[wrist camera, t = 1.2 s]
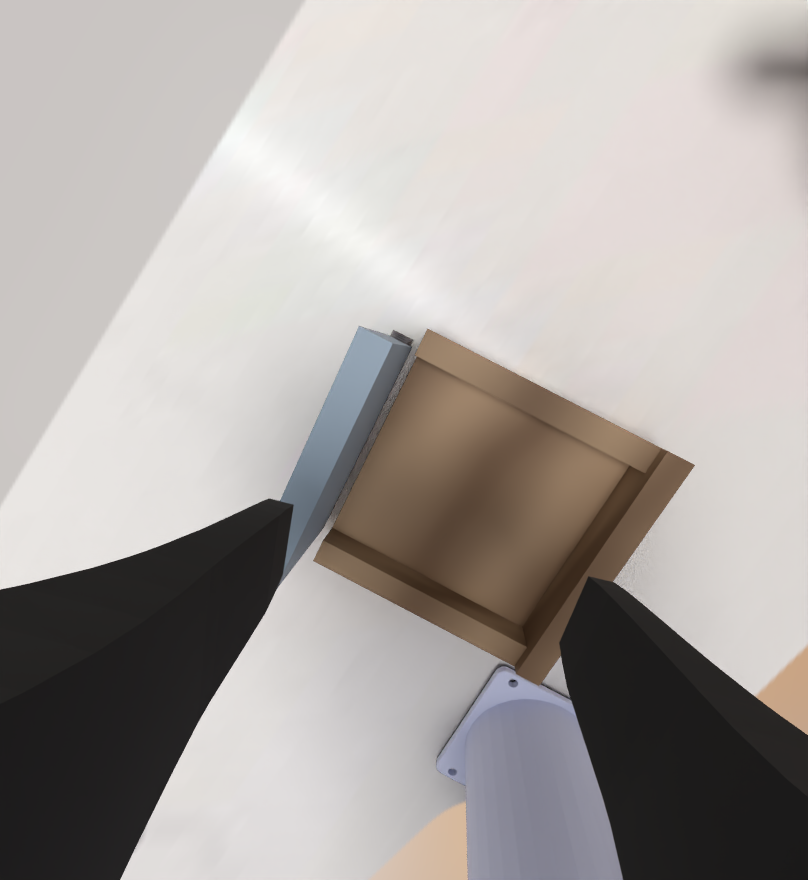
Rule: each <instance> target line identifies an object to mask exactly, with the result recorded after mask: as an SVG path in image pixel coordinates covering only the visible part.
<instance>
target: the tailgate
mask: <svg viewBox="0 0 808 880" xmlns="http://www.w3.org/2000/svg"><path fill="white" fill-rule="evenodd" d="M412 341H413V340H412V339H410V338H408V337H406V336H404V335H402V334H400V333H398V332H396V331H394V330H393V331H392V334H391V336H389V335H387V334H383V333H380V332H377V331H374V330H370V329H367V328H364V327H360V326H359V327H358V330H357V332H356V334H355V336H354V339H353V341H352V343H351V345H350V347H349V350H348V352H347V354H346V356H345V358H344V361H343V363H342V365H341V367H340V370H339V372H338V374H337V376H336V378H335V381H334V383H333V385H332V387H331V389H330V392H329V394H328V396H327V398H326V400H325V403H324V405H323V407H322V409H321V412H320V414H319V416H318V418H317V420H316V423H315V425H314V427H313V429H312V431H311V434H310V436H309V438H308V440H307V442H306V445H305V447H304V449H303V451H302V454H301V456H300V458H299V460H298V462H297V465H296V467H295V469H294V471H293V473H292V476H291V478H290V480H289V482H288V484H287V487H286V489H285V491H284V493H283V496H282V498H281V500H280V501H281V502H285V503H289V504H293V505H294V507H293V513H292V520H291V526H290V533H289V539H288V545H287V552H286V558H285V565H284V571H283V576H282V578H281V580H280V583H279V585H280V584H281V583H282V581H283V580H284V579H285V577H286V576H287V575H288V573H289V572H290V571H291V569H292V568H293V567H294V566H295V564H296V563H297V562H298V560H299V559H300V558H301V556H302V555H303V554H304V553H305V551H306V550H307V549H308V547H309V546H310V545H311V543H312V542H313V541H314V539H315V538H316V537H317V536H318V534H319V533H320V532H321V530H322V529H323V528H324V526H325V524H326V522H327V520H328V518H329V516H330V514H331V512H332V510H333V507H334V505H335V503H336V501H337V499H338V497H339V495H340V493H341V491H342V489H343V487H344V485H345V483H346V481H347V479H348V477H349V475H350V473H351V471H352V469H353V467H354V465H355V463H356V460H357V458H358V456H359V454H360V452H361V450H362V448H363V446H364V444H365V442H366V440H367V438H368V436H369V434H370V432H371V430H372V428H373V426H374V424H375V422H376V420H377V418H378V415H379V413H380V411H381V409H382V407H383V405H384V403H385V401H386V399H387V397H388V395H389V393H390V391H391V389H392V387H393V385H394V383H395V381H396V379H397V377H398V375H399V373H400V371H401V368H402V366H403V364H404V362H405V360H406V358H407V356H408V354H409V352H410V350H411V348H412V347H411V346H410V345H411V343H412ZM279 585H278V586H279ZM277 588H278V587H277Z"/></svg>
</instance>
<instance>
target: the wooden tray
mask: <svg viewBox="0 0 808 880" xmlns="http://www.w3.org/2000/svg"><path fill="white" fill-rule="evenodd" d="M415 356H417V358H416V360H415V362H414V364H413V366H412V368H411V370H410V372H409V374H408V376H407V378H406V380H405V382H404V384H403V386H402V388H401V390H400V392H399V394H398V396H397V398H396V400H395V402H394V404H393V406H392V408H391V410H390V412H389V414H388V416H387V418H386V420H385V422H384V424H383V426H382V428H381V430H380V432H379V435H378V437H377V439H376V441H375V443H374V445H373V447H372V449H371V451H370V453H369V455H368V457H367V459H366V461H365V463H364V465H363V467H362V469H361V471H360V473H359V475H358V477H357V479H356V481H355V483H354V485H353V487H352V489H351V491H350V493H349V495H348V497H347V499H346V501H345V503H344V505H343V507H342V509H341V511H340V513H339V515H338V517H337V519H336V521H335V523H334V525H333V527H332V529H331V530H330V532H329V533H328V535H327V536H326V537H325V539H324V540H323V542H322V544H321V546H320V548H319V550H318V552H317V554H316V556H315V558H314V560H313V561H315V562H316V563H318V564H320V565H322V566H324V567H326V568H328V569H330V570H332V571H334V572H336V573H337V574H339V575H341V576H343V577H345V578H347V579H349V580H351V581H353V582H355V583H356V584H358V585H360V586H362V587H364V588H366V589H368V590H370V591H372V592H374V593H376V594H377V595H379V596H381V597H383V598H385V599H387V600H389V601H391V602H393V603H395V604H397V605H398V606H400V607H402V608H404V609H406V610H408V611H410V612H412V613H414V614H416V615H417V616H419V617H421V618H423V619H425V620H427V621H429V622H431V623H433V624H435V625H437V626H438V627H440V628H442V629H444V630H446V631H448V632H450V633H452V634H454V635H456V636H457V637H459V638H461V639H463V640H465V641H467V642H469V643H471V644H473V645H475V646H477V647H478V648H480V649H482V650H484V651H486V652H488V653H490V654H492V655H494V656H496V657H498V658H499V659H501V660H503V661H505V662H507V663H509V664H511V665H513V666H514V667H515V672H516V674H517V675H519V676H520V677H522V678H524V679H526V680H528V681H530V682H532V683H534V684H536V685H538V686H540V684H541V683H542V681H543V680H544V679H545V677H546V676H547V674H548V673H549V671H550V670H551V669H552V667H553V666H554V664H555V663H556V661H557V660H558V659H559V657H560V656H561V651H560V645H559V642H560V640H561V637H562V635H563V633H564V631H565V628H566V626H567V624H568V621H569V619H570V617H571V615H572V612H573V610H574V608H575V605H576V603H577V601H578V599H579V596H580V594H581V592H582V590H583V587H584V585H585V583H586V580H587V578H588V576H590V577H594V578H598V579H602V580H607V581H611V582H613V581H614V579H615V578H616V576H617V575H618V574H619V572H620V571H621V569H622V568H623V567H624V565H625V564H626V562H627V561H628V559H629V558H630V557H631V555H632V554H633V552H634V551H635V549H636V548H637V547H638V545H639V544H640V542H641V541H642V540H643V538H644V537H645V535H646V534H647V532H648V531H649V530H650V528H651V527H652V525H653V524H654V523H655V521H656V520H657V518H658V517H659V515H660V514H661V513H662V511H663V510H664V508H665V507H666V506H667V504H668V503H669V501H670V500H671V498H672V497H673V496H674V494H675V493H676V491H677V490H678V489H679V487H680V486H681V484H682V483H683V481H684V480H685V479H686V477H687V476H688V474H689V473H690V472H691V470H692V469H693V467H694V466H695V465H694V464H692V463H690V462H688V461H686V460H684V459H682V458H680V457H678V456H676V455H674V454H672V453H670V452H668V451H666V450H664V449H662V448H660V447H658V446H656V445H654V444H652V443H650V442H648V441H646V440H644V439H642V438H640V437H638V436H636V435H634V434H632V433H630V432H629V431H627V430H625V429H623V428H621V427H619V426H617V425H615V424H613V423H611V422H609V421H607V420H605V419H603V418H601V417H599V416H597V415H595V414H593V413H591V412H589V411H588V410H586V409H584V408H582V407H580V406H578V405H576V404H574V403H572V402H570V401H568V400H566V399H564V398H562V397H560V396H558V395H556V394H554V393H552V392H550V391H548V390H547V389H545V388H543V387H541V386H539V385H537V384H535V383H533V382H531V381H529V380H527V379H525V378H523V377H521V376H519V375H517V374H515V373H513V372H511V371H509V370H507V369H505V368H504V367H502V366H500V365H498V364H496V363H494V362H492V361H490V360H488V359H486V358H484V357H482V356H480V355H478V354H476V353H474V352H472V351H470V350H468V349H466V348H464V347H463V346H461V345H459V344H457V343H455V342H453V341H451V340H449V339H447V338H445V337H443V336H441V335H439V334H437V333H435V332H433V331H431V330H429V329H427V331H426V333H425V335H424V337H423V339H422V341H421V343H420V345H419V347H418V349H417V351H416V353H415Z"/></svg>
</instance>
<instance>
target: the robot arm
mask: <svg viewBox="0 0 808 880" xmlns="http://www.w3.org/2000/svg"><path fill="white" fill-rule="evenodd" d="M293 507H294V505H293V504H289V503H285V502H281V501H277V500H273V499H267V500H264V501H262V502H260V503H258V504H255V505H253V506H251V507H249V508H247V509H245V510H243V511H240V512H238V513H236V514H234V515H232V516H230V517H228V518H225V519H223V520H221V521H219V522H217V523H214V524H212V525H210V526H208V527H206V528H203V529H201V530H199V531H196V532H194V533H191V534H189V535H186V536H184V537H181V538H179V539H176V540H174V541H171V542H169V543H166V544H164V545H161V546H159V547H156V548H153V549H150V550H148V551H145V552H142V553H139V554H136V555H133V556H130V557H127V558H123V559H120V560H117V561H114V562H111V563H107V564H104V565H101V566H97V567H94V568H90V569H86V570H82V571H78V572H74V573H70V574H66V575H62V576H58V577H54V578H50V579H46V580H42V581H38V582H34V583H30V584H25V585H21V586H16V587H11V588H6V589H1V590H0V880H120V879H121V877H122V875H123V872H124V870H125V868H126V866H127V864H128V862H129V860H130V858H131V856H132V854H133V851H134V849H135V847H136V845H137V843H138V841H139V839H140V837H141V835H142V833H143V831H144V829H145V827H146V825H147V823H148V821H149V819H150V817H151V815H152V813H153V811H154V808H155V806H156V804H157V802H158V800H159V798H160V796H161V794H162V792H163V790H164V788H165V786H166V784H167V782H168V780H169V778H170V776H171V774H172V772H173V770H174V768H175V766H176V764H177V762H178V760H179V758H180V757H181V755H182V753H183V751H184V749H185V747H186V745H187V743H188V741H189V739H190V737H191V735H192V733H193V731H194V729H195V727H196V725H197V723H198V722H199V720H200V718H201V716H202V715H203V713H204V711H205V709H206V708H207V706H208V704H209V702H210V701H211V699H212V697H213V696H214V694H215V693H216V691H217V690H218V688H219V686H220V685H221V683H222V682H223V680H224V678H225V677H226V675H227V674H228V672H229V670H230V669H231V667H232V666H233V664H234V662H235V661H236V659H237V658H238V656H239V654H240V653H241V651H242V650H243V648H244V646H245V645H246V643H247V642H248V640H249V638H250V637H251V635H252V634H253V632H254V630H255V629H256V627H257V626H258V624H259V622H260V621H261V619H262V617H263V616H264V614H265V612H266V610H267V608H268V606H269V604H270V602H271V600H272V598H273V596H274V594H275V591H276V589H277V587H278V585H279V583H280V580H281V578H282V576H283V571H284V565H285V558H286V552H287V545H288V539H289V533H290V526H291V520H292V513H293ZM559 645H560V651H561V657H562V663H563V669H564V674H565V679H566V684H567V688H568V691H569V695H570V698H571V700H569V699H567V698H565V697H564V696H562V695H560V694H558V693H556V692H554V691H552V690H550V689H548V688H546V687H545V686H543V685H541V684H540V686H538V685H536V684H534V683H532V682H530V681H528V680H526V679H524V678H522V677H520V676H519V675H517V674H516V672H515V671H514V670H512V669H510V668H508V667H500V668H498V669H497V670H496V671H495V673H494V674H493V676H492V677H491V679H490V680H489V682H488V683H487V685H486V686H485V688H484V689H483V691H482V692H481V694H480V695H479V697H478V698H477V700H476V701H475V703H474V704H473V706H472V707H471V709H470V710H469V712H468V713H467V715H466V716H465V718H464V719H463V721H462V722H461V724H460V725H459V727H458V728H457V730H456V731H455V733H454V734H453V736H452V737H451V739H450V740H449V742H448V743H447V745H446V746H445V748H444V749H443V751H442V752H441V754H440V755H439V757H438V758H437V762H436V767H437V770H438V771H439V772H440V773H442V774H444V775H445V776H447V777H449V778H451V779H453V780H455V781H457V782H459V783H461V784H462V785H464V786H466V820H467V860H468V861H467V863H468V880H808V735H807V734H805V733H804V732H802V731H801V730H800V729H798V728H797V727H795V726H794V725H793V724H791V723H790V722H788V721H787V720H785V719H784V718H783V717H781V716H780V715H779V714H777V713H776V712H775V711H773V710H772V709H771V708H769V707H768V706H766V705H765V704H764V703H763V702H761V701H760V700H758V699H757V698H756V697H755V696H753V695H752V694H751V693H750V692H748V691H747V690H746V689H744V688H743V687H742V686H741V685H739V684H738V683H737V682H736V681H734V680H733V679H732V678H730V677H729V676H728V675H727V674H725V673H724V672H723V671H722V670H720V669H719V668H718V667H717V666H715V665H714V664H713V663H712V662H711V661H709V660H708V659H707V658H706V657H704V656H703V655H702V654H701V653H700V652H698V651H697V650H696V649H695V648H694V647H692V646H691V645H690V644H689V643H688V642H687V641H685V640H684V639H683V638H682V637H681V636H679V635H678V634H677V633H676V632H675V631H674V630H672V629H671V628H670V627H669V626H668V625H667V624H665V623H664V622H663V621H662V620H661V619H659V618H658V617H657V616H656V615H655V614H654V613H652V612H651V611H650V610H649V609H648V608H646V607H645V606H644V605H643V604H642V603H640V602H639V601H638V600H637V599H636V598H634V597H633V596H632V595H631V594H629V593H628V592H627V591H625V590H624V589H623V588H621V587H620V586H618V585H617V584H616V583H614V582H611V581H607V580H602V579H598V578H594V577H590V576H588V578H587V580H586V583H585V585H584V587H583V590H582V592H581V594H580V596H579V599H578V601H577V603H576V605H575V608H574V610H573V612H572V615H571V617H570V619H569V621H568V624H567V626H566V628H565V631H564V633H563V635H562V637H561V640H560V642H559ZM511 679H514V680H516V681H515V682H510V680H511ZM450 768H454V769H450Z"/></svg>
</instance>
